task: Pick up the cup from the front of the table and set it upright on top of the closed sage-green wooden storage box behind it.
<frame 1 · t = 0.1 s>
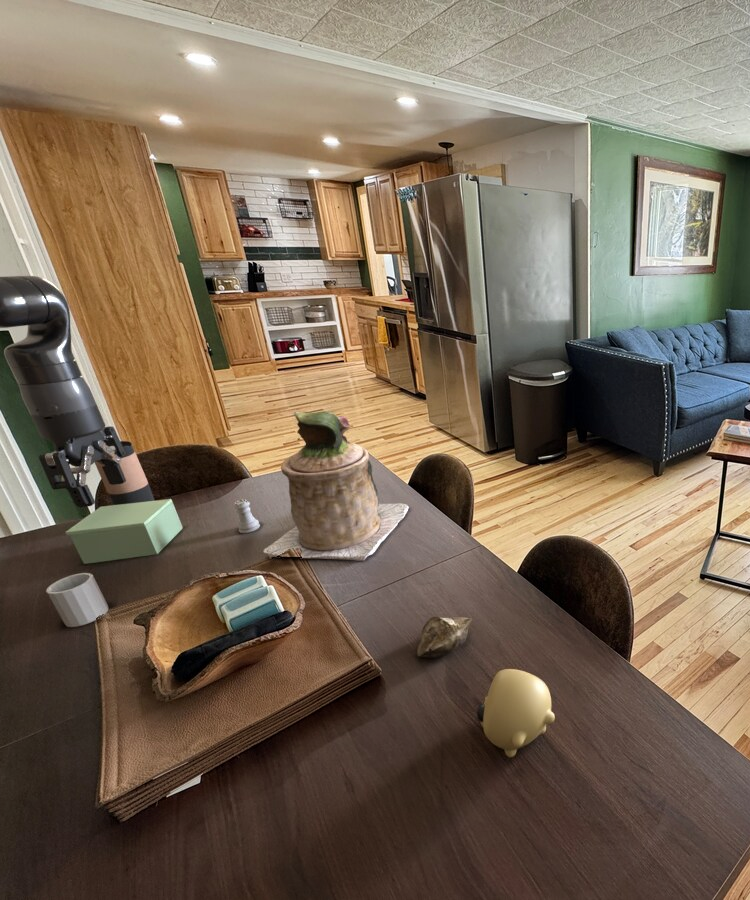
hand: (103, 494, 83), 25 cm above the table, tool pointing down, fingers open, 8 cm apart
toy pig: (516, 732, 69), on the table
rook chess piece: (250, 530, 119), on the table
cookie jar: (344, 533, 118), on the table
cup: (87, 616, 90), on the table
fossilized seashell: (446, 645, 84), on the table
container: (136, 545, 112), on the table
container lid: (122, 515, 109), point 8 cm above the table, hinge at 0.0°
travel mug: (141, 517, 124), on the table
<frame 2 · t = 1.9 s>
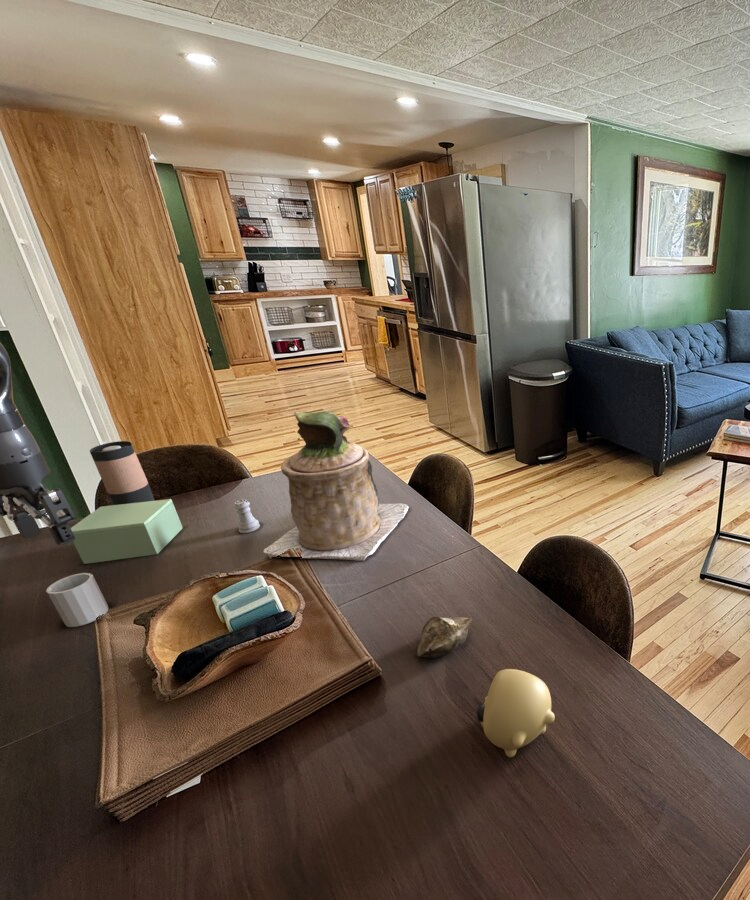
hand: (49, 539, 84), 17 cm above the table, tool pointing down, fingers open, 8 cm apart
nothing on the table moved.
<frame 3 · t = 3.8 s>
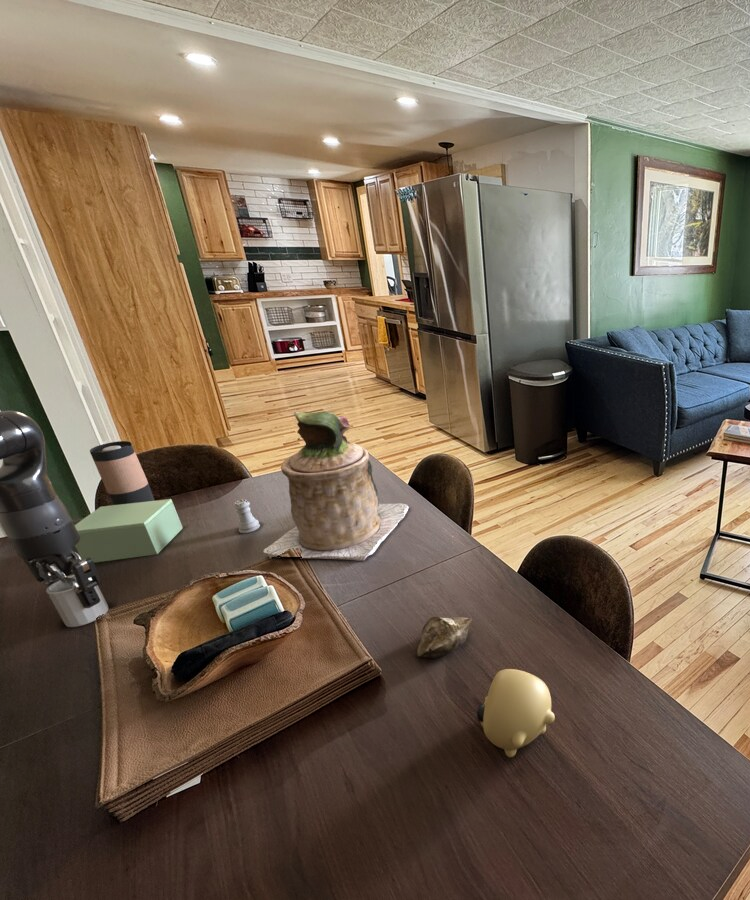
hand: (79, 601, 89), 4 cm above the table, tool pointing down, fingers closed on cup, 6 cm apart
cup: (87, 616, 90), on the table, touching gripper
everything else where it was.
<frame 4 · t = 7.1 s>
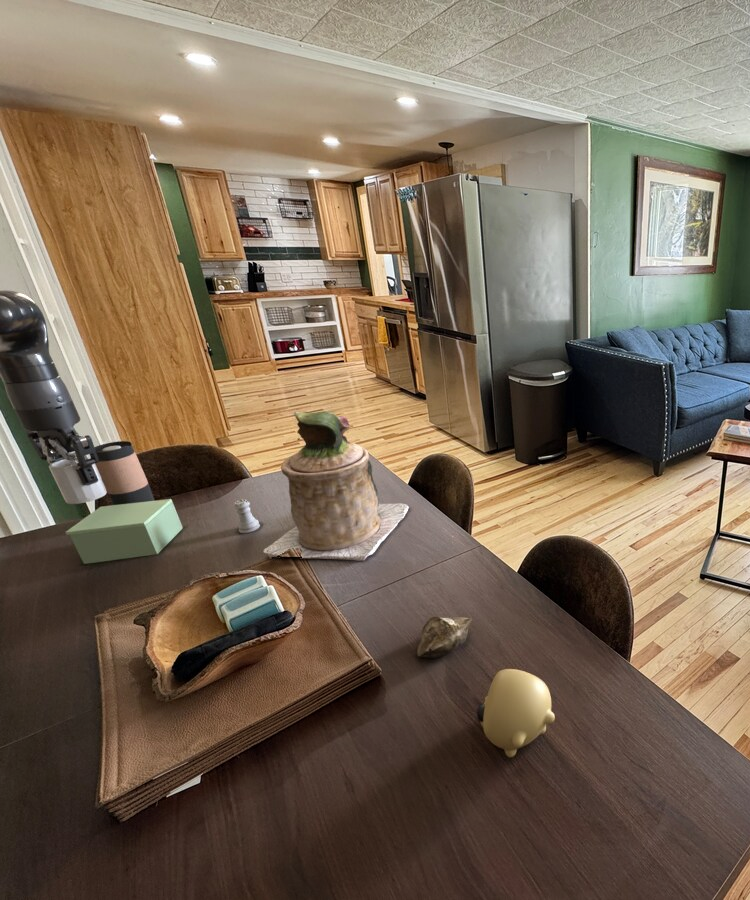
hand: (79, 481, 96), 21 cm above the table, tool pointing down, fingers closed on cup, 6 cm apart
cup: (87, 497, 97), point 18 cm above the table, touching gripper
everything else where it was.
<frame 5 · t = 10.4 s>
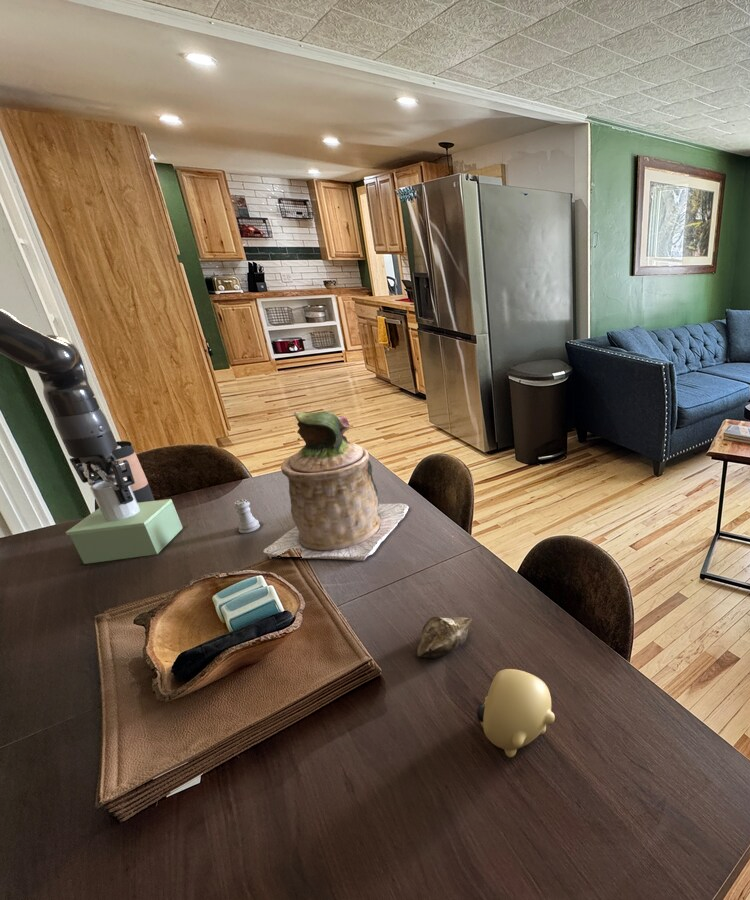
hand: (116, 500, 107), 12 cm above the table, tool pointing down, fingers closed on cup, 6 cm apart
cup: (122, 514, 109), point 9 cm above the table, touching container lid, gripper
container lid: (122, 516, 109), point 8 cm above the table, hinge at -0.2°, touching container, cup
everything else where it was.
when the fingers open (12 cm above the table, at t = 10.6 s): cup stays where it is, resting on container lid.
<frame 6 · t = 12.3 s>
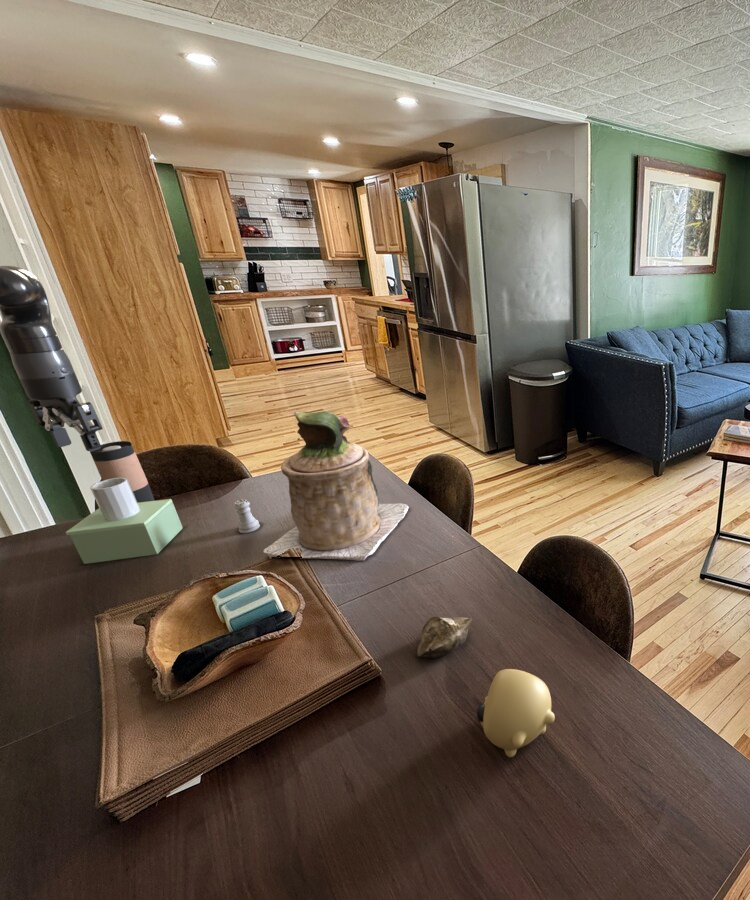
hand: (79, 447, 100), 26 cm above the table, tool pointing down, fingers open, 8 cm apart
cup: (122, 514, 109), point 9 cm above the table, touching container lid
everything else where it was.
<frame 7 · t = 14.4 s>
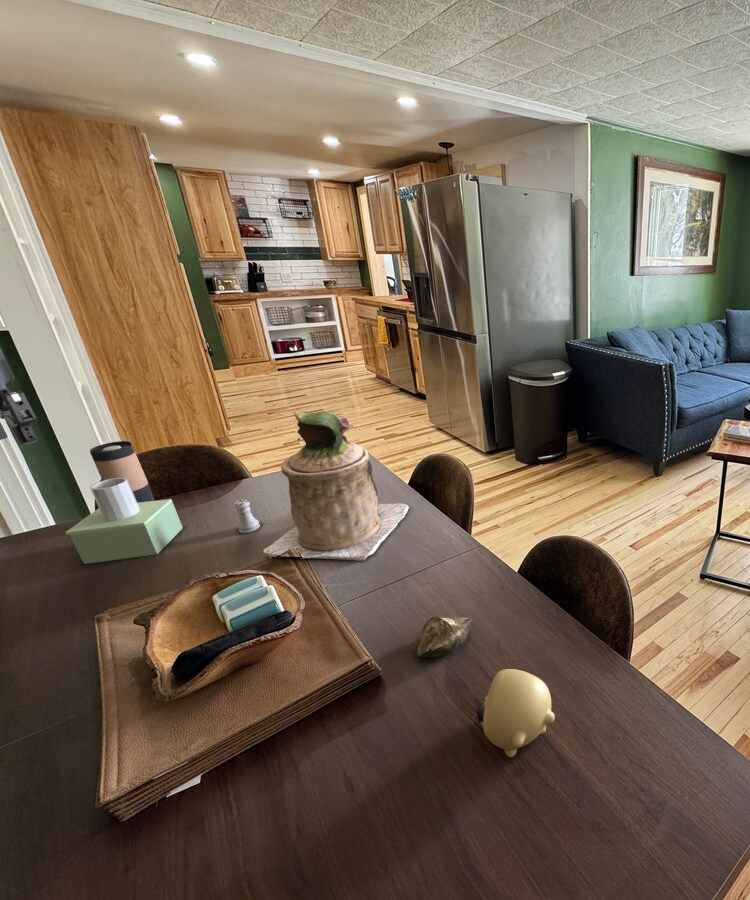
hand: (14, 441, 92), 30 cm above the table, tool pointing down, fingers open, 8 cm apart
cup: (122, 514, 109), point 9 cm above the table
container lid: (122, 516, 109), point 8 cm above the table, hinge at -0.2°, touching container
everything else where it was.
at the end: cup inside the target area on the container (0.0 cm from its centre), point 8.6 cm above the container's base; cup tilted 0°; the gripper is holding nothing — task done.
